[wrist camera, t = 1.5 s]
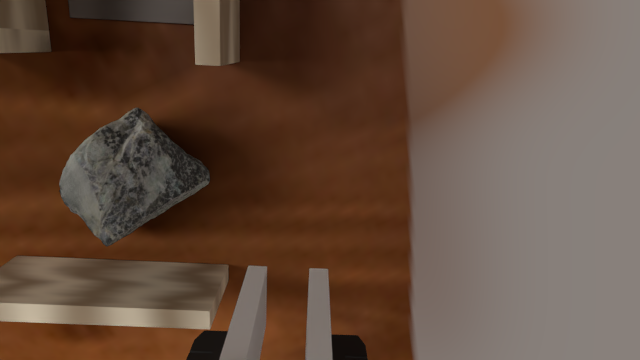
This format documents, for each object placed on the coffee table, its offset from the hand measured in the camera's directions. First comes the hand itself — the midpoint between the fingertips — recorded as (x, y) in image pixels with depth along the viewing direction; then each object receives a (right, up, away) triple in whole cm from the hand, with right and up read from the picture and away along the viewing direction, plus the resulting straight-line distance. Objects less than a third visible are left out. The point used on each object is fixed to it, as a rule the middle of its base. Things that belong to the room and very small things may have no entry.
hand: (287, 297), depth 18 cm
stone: (-12, +6, +18) cm, 22 cm away
